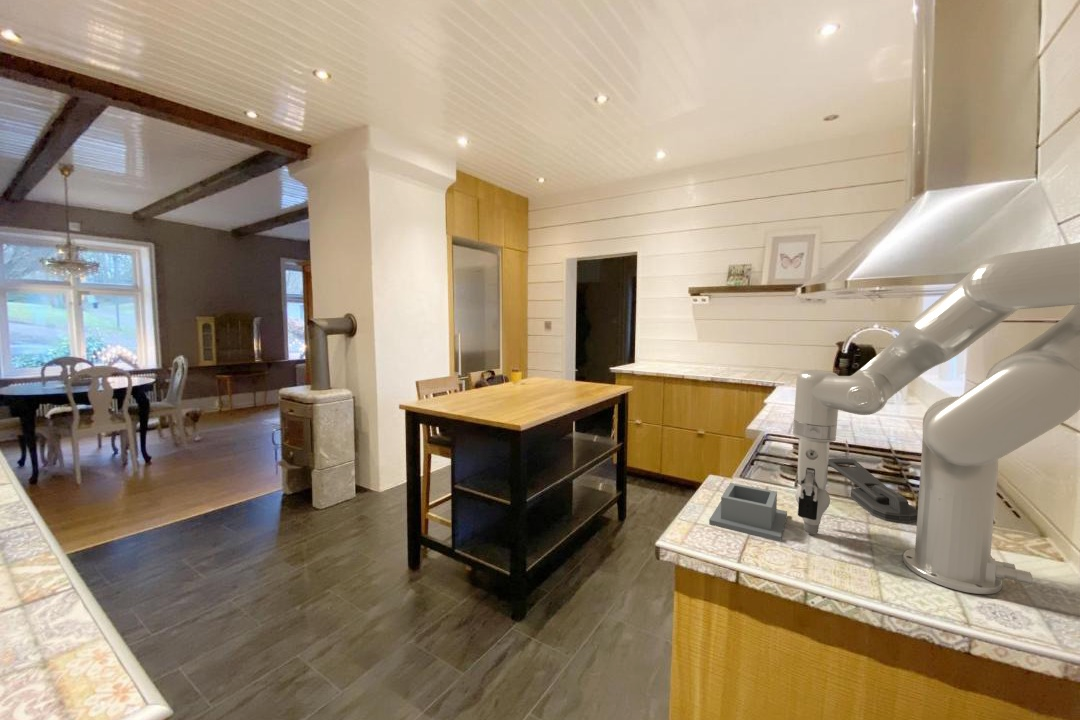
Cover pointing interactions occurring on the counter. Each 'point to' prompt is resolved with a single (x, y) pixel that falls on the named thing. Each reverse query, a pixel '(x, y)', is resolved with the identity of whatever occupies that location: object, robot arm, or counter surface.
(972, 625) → the counter surface
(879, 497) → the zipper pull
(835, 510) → the counter surface
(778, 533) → the socket holder
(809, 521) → the lightbulb
